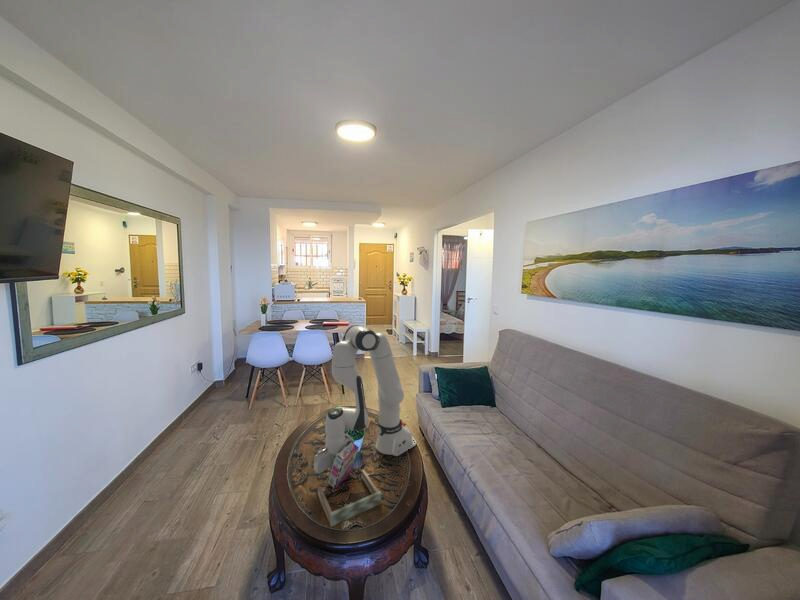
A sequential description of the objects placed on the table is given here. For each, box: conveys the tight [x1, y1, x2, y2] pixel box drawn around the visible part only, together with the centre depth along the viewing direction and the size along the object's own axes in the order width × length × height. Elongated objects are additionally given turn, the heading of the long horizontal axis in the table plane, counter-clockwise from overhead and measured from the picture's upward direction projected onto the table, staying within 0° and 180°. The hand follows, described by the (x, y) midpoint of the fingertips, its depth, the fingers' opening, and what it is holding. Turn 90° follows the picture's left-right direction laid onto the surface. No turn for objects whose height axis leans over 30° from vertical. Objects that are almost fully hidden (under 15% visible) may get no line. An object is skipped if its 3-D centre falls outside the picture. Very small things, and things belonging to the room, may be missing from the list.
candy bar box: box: [326, 442, 359, 490], centre depth 133 cm, size 11×5×16 cm, turn 151°
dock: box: [317, 469, 382, 527], centre depth 125 cm, size 21×17×5 cm
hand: (335, 471), depth 138 cm, fingers closed
